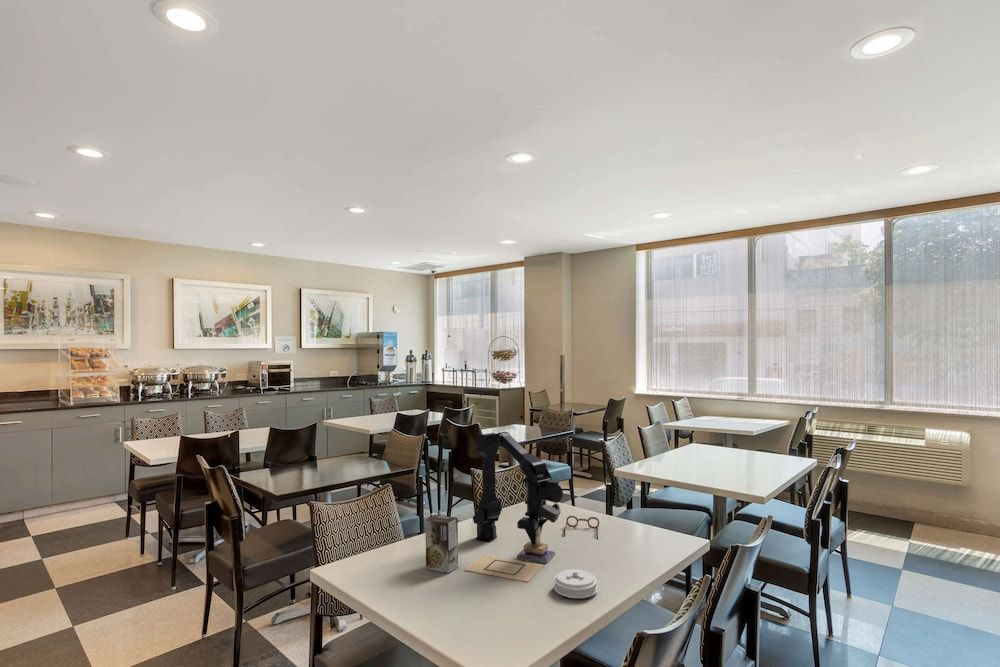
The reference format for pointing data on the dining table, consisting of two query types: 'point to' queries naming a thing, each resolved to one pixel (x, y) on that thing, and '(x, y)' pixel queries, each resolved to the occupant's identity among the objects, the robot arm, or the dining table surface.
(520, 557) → the ink pad
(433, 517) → the coffee box
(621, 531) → the dining table surface
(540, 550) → the stamp
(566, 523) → the glasses
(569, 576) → the lid
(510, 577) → the stamp board
